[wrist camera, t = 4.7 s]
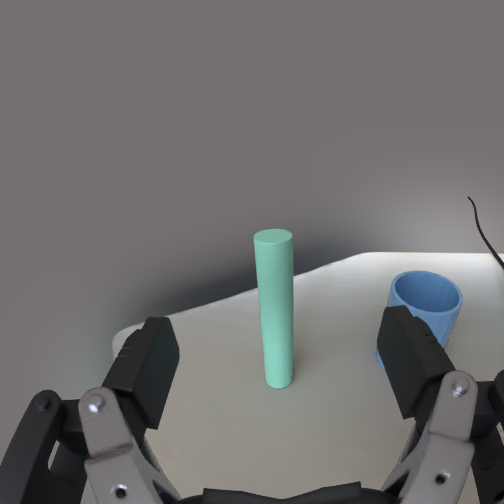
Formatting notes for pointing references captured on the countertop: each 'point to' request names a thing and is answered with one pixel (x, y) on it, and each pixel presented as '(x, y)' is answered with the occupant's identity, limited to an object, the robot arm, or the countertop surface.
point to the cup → (427, 301)
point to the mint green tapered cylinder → (276, 303)
